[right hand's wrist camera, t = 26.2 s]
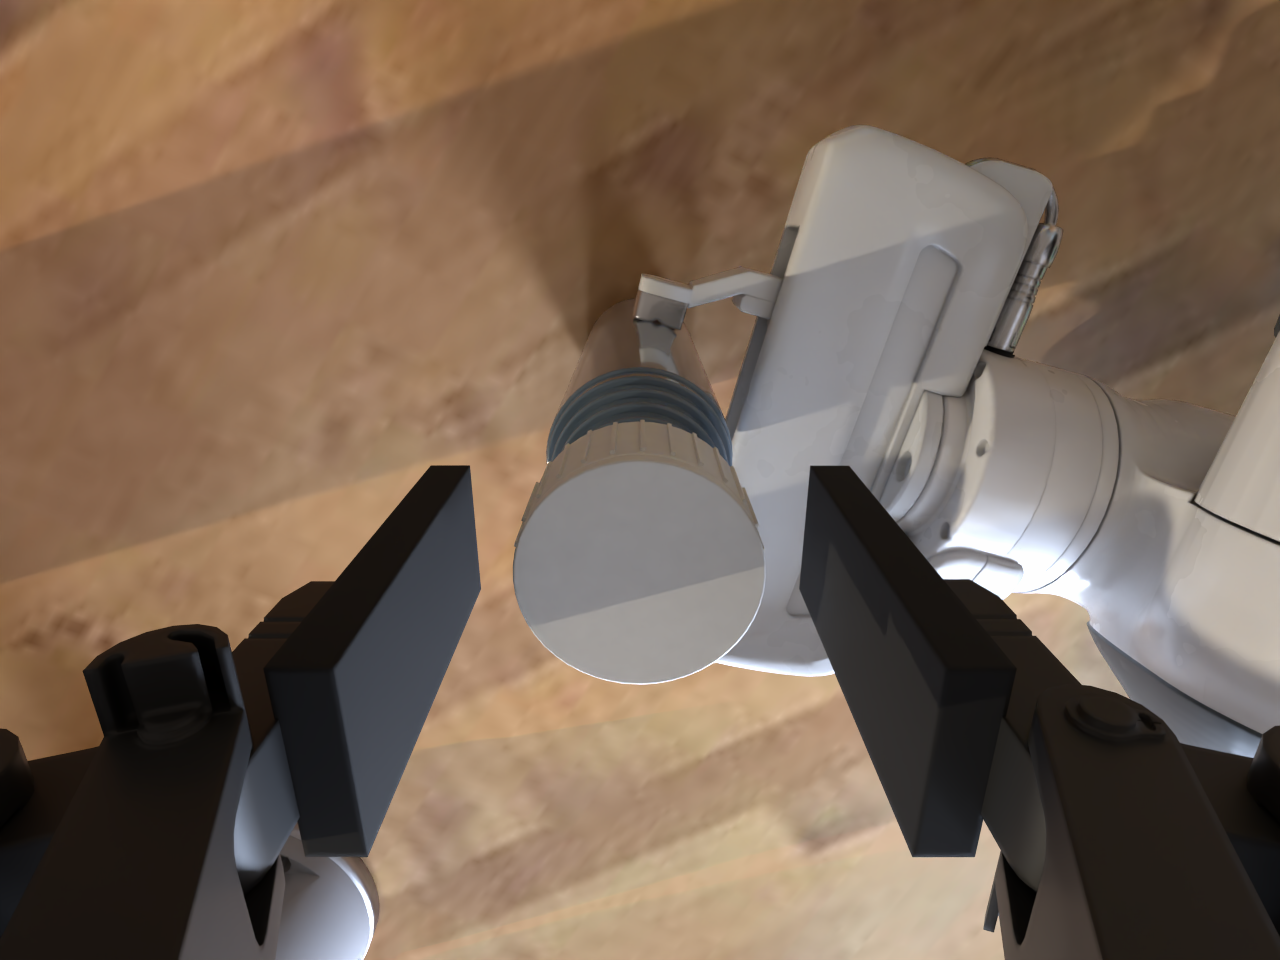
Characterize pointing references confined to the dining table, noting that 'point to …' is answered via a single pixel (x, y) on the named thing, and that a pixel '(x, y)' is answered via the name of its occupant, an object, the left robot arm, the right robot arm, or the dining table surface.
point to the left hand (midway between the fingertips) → (615, 377)
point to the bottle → (638, 383)
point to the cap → (639, 555)
